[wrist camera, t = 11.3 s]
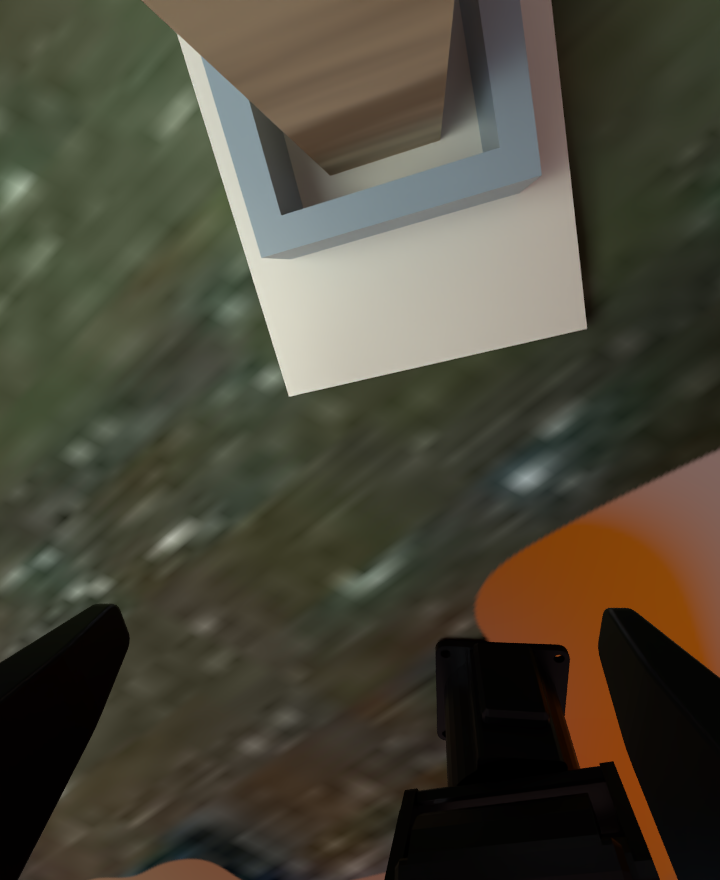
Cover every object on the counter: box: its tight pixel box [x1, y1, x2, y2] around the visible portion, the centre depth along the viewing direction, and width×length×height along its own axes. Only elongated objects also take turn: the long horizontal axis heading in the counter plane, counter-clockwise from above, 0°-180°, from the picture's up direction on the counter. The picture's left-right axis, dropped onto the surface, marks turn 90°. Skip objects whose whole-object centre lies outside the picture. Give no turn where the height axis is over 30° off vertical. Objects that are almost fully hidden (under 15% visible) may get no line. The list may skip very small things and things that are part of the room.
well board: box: [177, 0, 587, 396], centre depth 16 cm, size 14×12×4 cm
